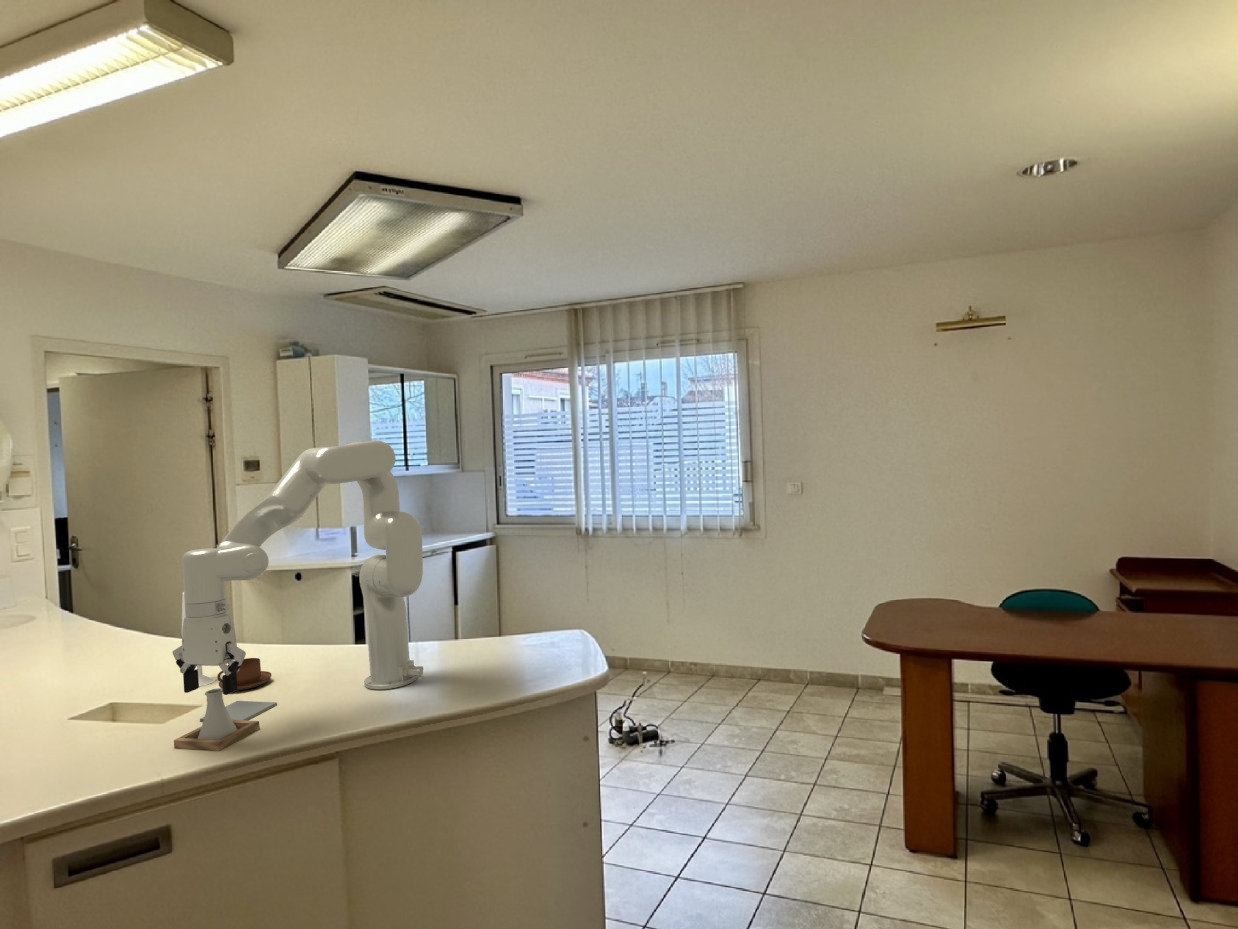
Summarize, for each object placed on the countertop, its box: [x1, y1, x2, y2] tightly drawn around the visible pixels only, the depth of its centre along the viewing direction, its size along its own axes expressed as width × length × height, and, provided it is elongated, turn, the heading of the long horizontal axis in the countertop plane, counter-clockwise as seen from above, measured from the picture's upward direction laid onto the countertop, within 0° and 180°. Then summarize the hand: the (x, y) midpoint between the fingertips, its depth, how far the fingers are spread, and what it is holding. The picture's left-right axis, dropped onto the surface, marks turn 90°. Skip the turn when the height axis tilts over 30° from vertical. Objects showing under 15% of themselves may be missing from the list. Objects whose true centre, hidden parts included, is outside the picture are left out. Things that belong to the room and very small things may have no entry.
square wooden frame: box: [173, 720, 260, 752], centre depth 152 cm, size 11×11×2 cm
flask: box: [198, 687, 237, 740], centre depth 152 cm, size 7×7×10 cm
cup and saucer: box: [216, 657, 272, 691], centre depth 186 cm, size 12×12×6 cm
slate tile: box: [199, 700, 278, 723], centre depth 166 cm, size 11×11×1 cm
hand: (210, 691), depth 151 cm, fingers open, 9 cm apart
